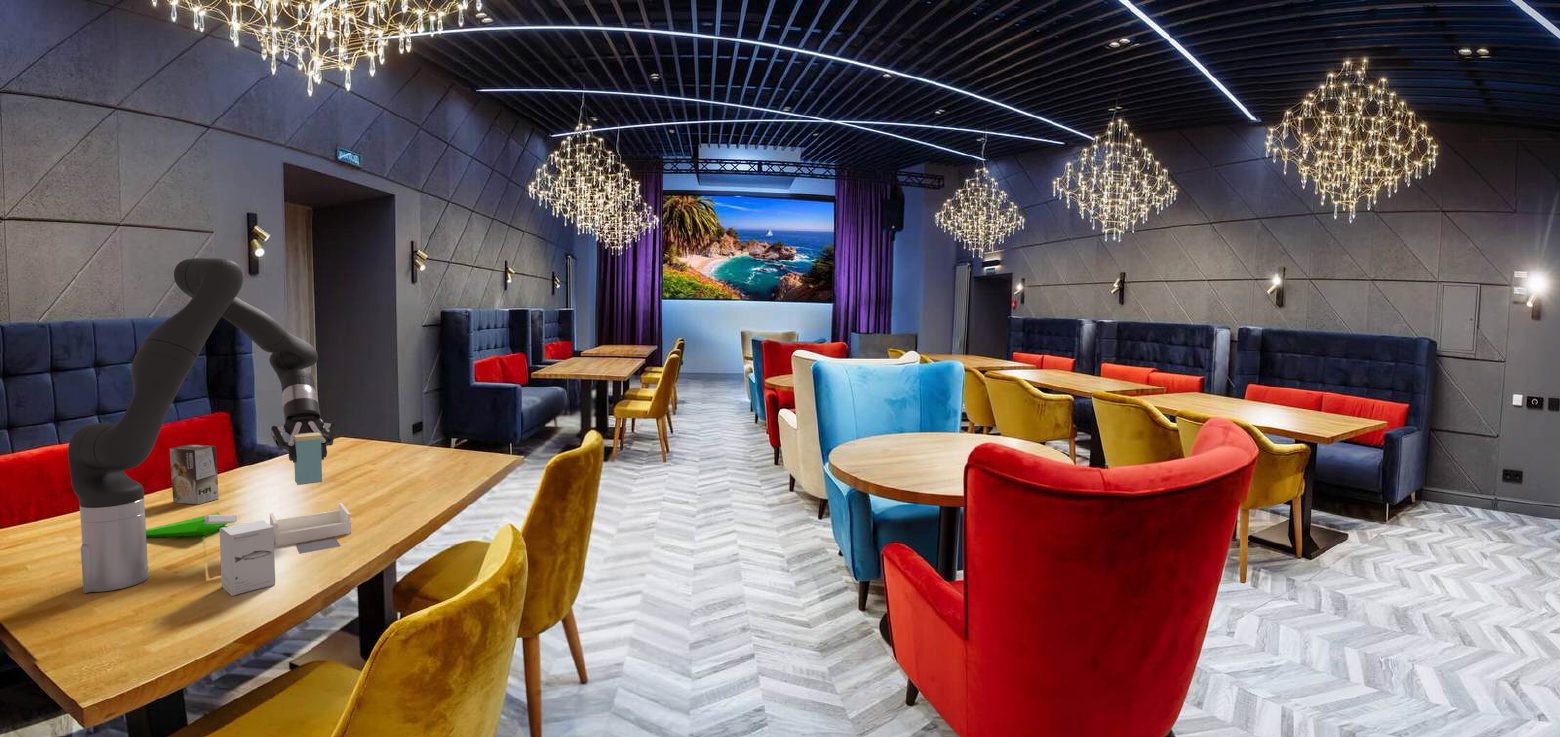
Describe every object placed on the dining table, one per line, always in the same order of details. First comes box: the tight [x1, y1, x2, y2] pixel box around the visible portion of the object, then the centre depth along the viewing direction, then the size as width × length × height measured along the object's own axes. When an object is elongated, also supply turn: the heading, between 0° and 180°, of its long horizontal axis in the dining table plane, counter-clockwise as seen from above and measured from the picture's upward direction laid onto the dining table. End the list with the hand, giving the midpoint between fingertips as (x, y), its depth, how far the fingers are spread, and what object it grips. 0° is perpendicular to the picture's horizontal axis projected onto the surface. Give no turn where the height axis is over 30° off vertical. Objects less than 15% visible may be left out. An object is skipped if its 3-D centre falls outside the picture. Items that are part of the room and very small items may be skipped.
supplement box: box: [218, 519, 276, 597], centre depth 134 cm, size 7×7×13 cm
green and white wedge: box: [146, 512, 238, 538], centre depth 162 cm, size 11×5×25 cm
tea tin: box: [293, 432, 323, 486], centre depth 164 cm, size 5×5×12 cm
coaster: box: [294, 536, 341, 555], centre depth 157 cm, size 8×8×1 cm
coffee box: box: [169, 444, 220, 505], centre depth 190 cm, size 9×6×16 cm
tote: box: [269, 502, 352, 547], centre depth 165 cm, size 15×13×6 cm
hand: (309, 459), depth 162 cm, fingers closed on tea tin, 5 cm apart
